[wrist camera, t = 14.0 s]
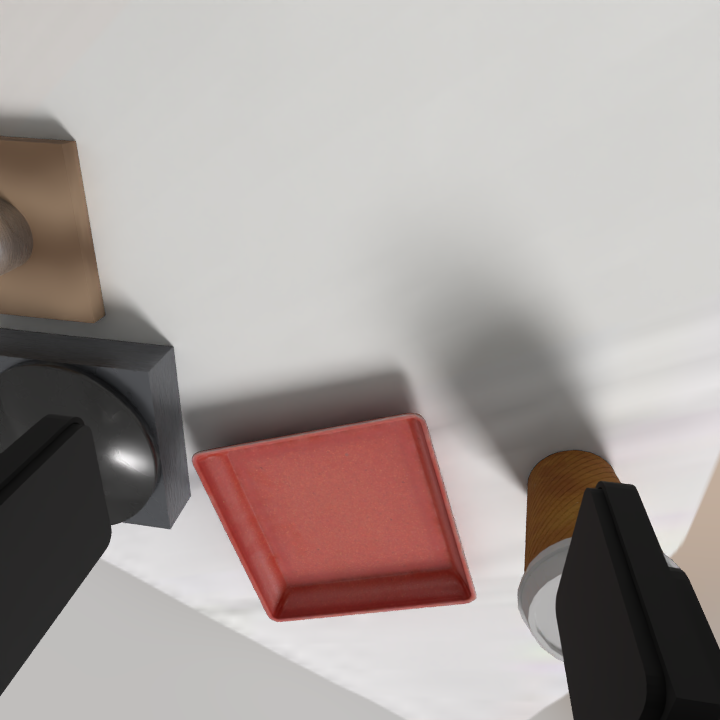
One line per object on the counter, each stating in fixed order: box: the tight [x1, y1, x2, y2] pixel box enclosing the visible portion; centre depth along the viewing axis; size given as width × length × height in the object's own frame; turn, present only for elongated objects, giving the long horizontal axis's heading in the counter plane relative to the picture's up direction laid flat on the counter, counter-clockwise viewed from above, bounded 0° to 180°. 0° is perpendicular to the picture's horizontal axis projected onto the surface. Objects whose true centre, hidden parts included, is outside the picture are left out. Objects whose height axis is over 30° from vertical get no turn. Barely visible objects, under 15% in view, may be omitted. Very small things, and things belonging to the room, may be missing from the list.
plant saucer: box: [192, 413, 476, 622], centre depth 47 cm, size 18×18×3 cm
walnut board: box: [0, 136, 105, 323], centre depth 41 cm, size 12×12×2 cm
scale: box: [0, 328, 191, 529], centre depth 46 cm, size 14×15×6 cm
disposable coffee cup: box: [518, 450, 679, 662], centre depth 39 cm, size 10×10×12 cm
